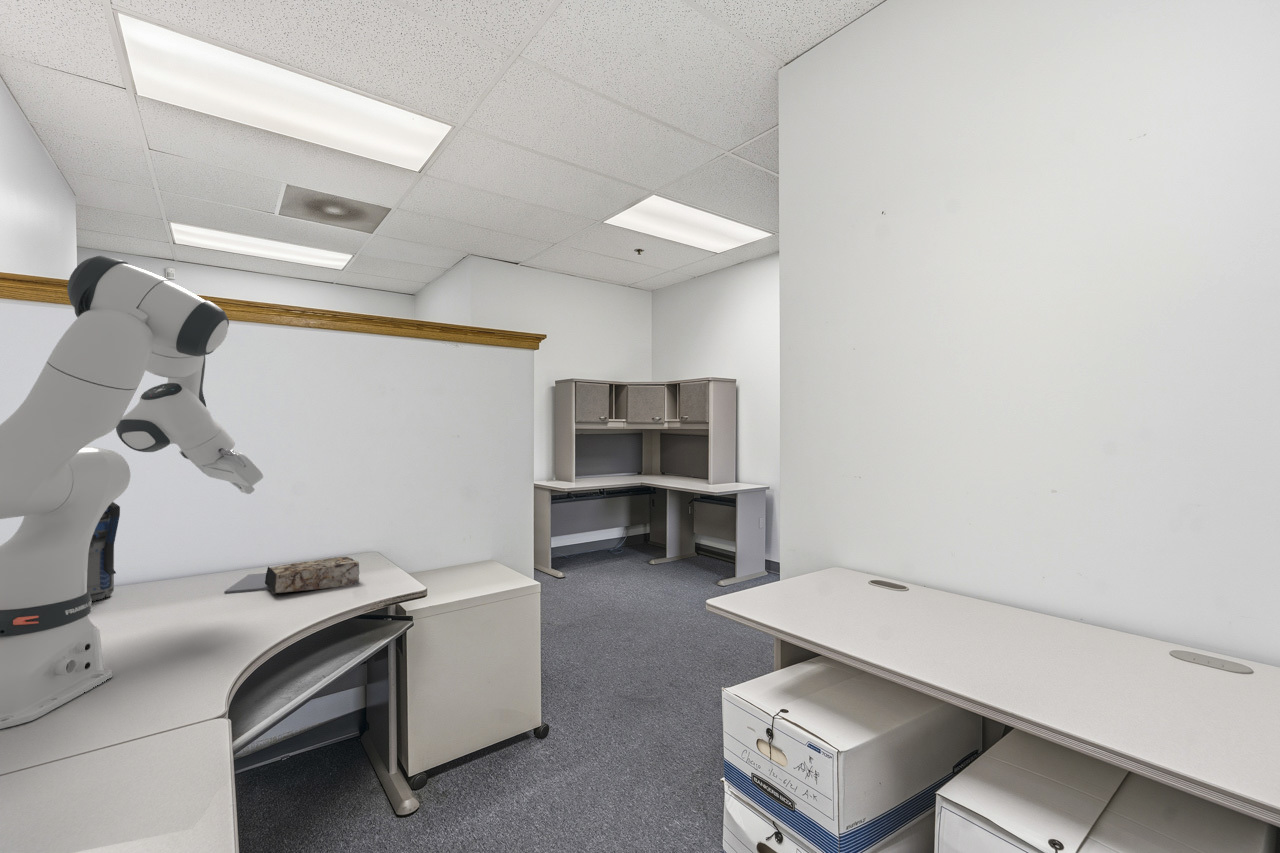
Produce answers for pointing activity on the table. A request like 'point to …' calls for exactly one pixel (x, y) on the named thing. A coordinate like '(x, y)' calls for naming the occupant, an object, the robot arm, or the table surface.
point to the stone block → (313, 575)
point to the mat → (249, 584)
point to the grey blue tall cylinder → (103, 555)
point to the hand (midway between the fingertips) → (248, 491)
